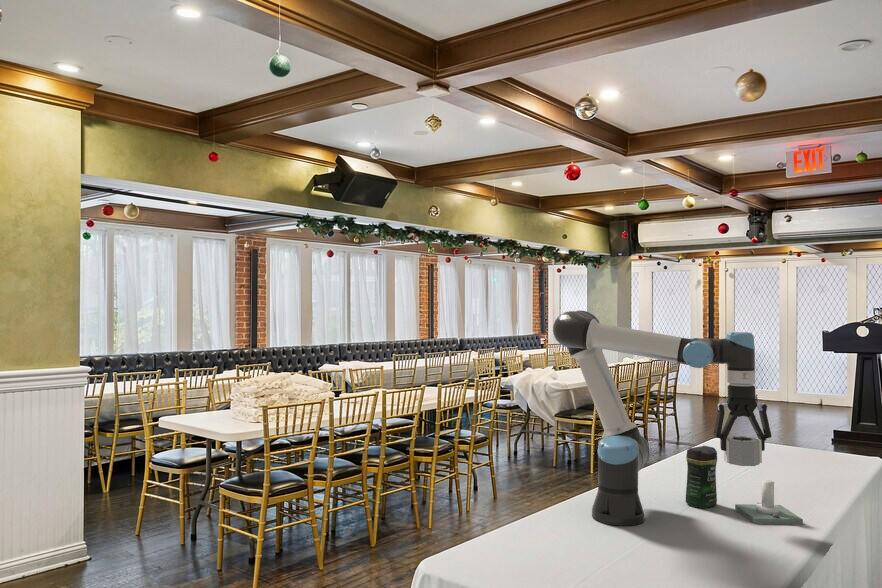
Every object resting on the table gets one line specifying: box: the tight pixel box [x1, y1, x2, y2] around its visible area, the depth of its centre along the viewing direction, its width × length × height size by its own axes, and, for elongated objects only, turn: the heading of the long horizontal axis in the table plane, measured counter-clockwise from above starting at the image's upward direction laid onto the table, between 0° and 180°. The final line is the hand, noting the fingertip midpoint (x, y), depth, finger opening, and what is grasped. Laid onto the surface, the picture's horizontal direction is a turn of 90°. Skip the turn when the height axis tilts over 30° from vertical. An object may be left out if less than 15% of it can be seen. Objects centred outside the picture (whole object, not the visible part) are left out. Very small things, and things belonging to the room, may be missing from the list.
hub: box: [727, 435, 761, 467], centre depth 200 cm, size 8×8×7 cm
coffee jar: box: [685, 445, 718, 509], centre depth 217 cm, size 10×8×19 cm
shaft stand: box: [734, 479, 804, 525], centre depth 206 cm, size 14×14×10 cm
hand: (742, 461), depth 200 cm, fingers closed on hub, 8 cm apart
